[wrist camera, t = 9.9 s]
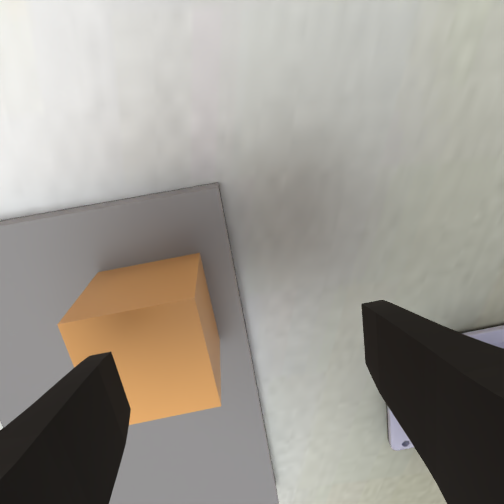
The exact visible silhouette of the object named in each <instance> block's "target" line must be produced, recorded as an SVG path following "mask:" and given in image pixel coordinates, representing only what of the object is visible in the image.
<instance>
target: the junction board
mask: <svg viewBox="0 0 504 504" xmlns="http://www.w3.org/2000/svg"><path fill="white" fill-rule="evenodd" d="M196 253H200V256H201V261H202V265H203V269H204V274H205V278H206V282H207V286H208V291H209V295H210V299H211V304H212V308H213V312H214V317H215V321H216V325H217V330H218V334H219V338H220V370H221V406H220V407H215V408H210V409H205V410H200V411H196V412H191V413H186V414H181V415H176V416H171V417H166V418H162V419H157V420H152V421H147V422H142V423H137V424H132V425H129V427H128V434H127V440H126V445H125V449H124V453H123V456H122V460H121V463H120V467H119V471H118V474H117V478H116V481H115V484H114V488H113V491H112V495H111V498H110V502H109V504H279V501H278V495H277V489H276V484H275V478H274V473H273V468H272V463H271V457H270V452H269V447H268V442H267V436H266V431H265V426H264V421H263V416H262V410H261V405H260V400H259V395H258V389H257V384H256V379H255V374H254V368H253V363H252V358H251V353H250V348H249V342H248V337H247V332H246V327H245V321H244V316H243V311H242V306H241V300H240V295H239V290H238V285H237V280H236V274H235V269H234V264H233V259H232V253H231V248H230V243H229V238H228V232H227V227H226V222H225V217H224V211H223V206H222V201H221V196H220V191H219V185H218V183H212V184H207V185H201V186H195V187H190V188H184V189H178V190H173V191H167V192H161V193H156V194H150V195H144V196H139V197H133V198H128V199H122V200H116V201H111V202H105V203H99V204H94V205H88V206H82V207H77V208H71V209H65V210H60V211H54V212H48V213H43V214H37V215H31V216H26V217H20V218H14V219H9V220H3V221H0V422H1V424H2V426H3V428H4V427H5V426H6V425H8V424H9V423H10V422H11V421H13V420H14V419H15V418H16V417H17V416H19V415H20V414H21V413H22V412H24V411H25V410H26V409H27V408H28V407H30V406H31V405H32V404H33V403H34V402H35V401H37V400H38V399H39V398H40V397H41V396H42V395H43V394H45V393H46V392H47V391H48V390H49V389H50V388H51V387H53V386H54V385H55V384H56V383H57V382H58V381H59V380H61V379H62V378H63V377H64V376H65V375H66V374H67V373H69V372H70V371H71V370H72V369H73V368H74V366H73V363H72V361H71V358H70V356H69V353H68V350H67V348H66V345H65V343H64V340H63V338H62V335H61V333H60V330H59V328H58V325H57V324H58V323H59V322H60V320H61V319H62V318H63V317H64V315H65V314H66V313H67V311H68V310H69V309H70V308H71V306H72V305H73V304H74V302H75V301H76V300H77V299H78V297H79V296H80V295H81V293H82V292H83V291H84V289H85V288H86V287H87V286H88V284H89V283H90V282H91V280H92V279H93V278H94V277H95V275H96V274H97V273H98V272H102V271H107V270H112V269H117V268H123V267H128V266H133V265H138V264H143V263H149V262H154V261H159V260H164V259H170V258H175V257H180V256H185V255H190V254H196Z"/></svg>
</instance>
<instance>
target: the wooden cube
mask: <svg viewBox="0 0 504 504" xmlns="http://www.w3.org/2000/svg"><path fill="white" fill-rule="evenodd" d="M57 325H58V328H59V330H60V333H61V335H62V338H63V340H64V343H65V345H66V348H67V350H68V353H69V356H70V358H71V361H72V363H73V366H74V367H76V366H77V365H78V364H79V363H80V362H82V361H83V360H84V359H86V358H87V357H89V356H91V355H96V354H101V353H106V352H112V355H113V358H114V361H115V364H116V367H117V370H118V373H119V376H120V379H121V382H122V385H123V388H124V391H125V394H126V396H127V399H128V402H129V405H130V408H131V412H130V420H129V425H132V424H137V423H142V422H147V421H152V420H157V419H162V418H166V417H171V416H176V415H181V414H186V413H191V412H196V411H200V410H205V409H210V408H215V407H220V406H221V370H220V338H219V334H218V330H217V325H216V321H215V317H214V312H213V308H212V304H211V299H210V295H209V291H208V286H207V282H206V278H205V274H204V269H203V265H202V261H201V256H200V253H196V254H190V255H185V256H180V257H175V258H170V259H164V260H159V261H154V262H149V263H143V264H138V265H133V266H128V267H123V268H117V269H112V270H107V271H102V272H98V273H97V274H96V275H95V277H94V278H93V279H92V280H91V282H90V283H89V284H88V286H87V287H86V288H85V289H84V291H83V292H82V293H81V295H80V296H79V297H78V299H77V300H76V301H75V302H74V304H73V305H72V306H71V308H70V309H69V310H68V311H67V313H66V314H65V315H64V317H63V318H62V319H61V320H60V322H59V323H58V324H57Z"/></svg>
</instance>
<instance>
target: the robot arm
mask: <svg viewBox="0 0 504 504" xmlns="http://www.w3.org/2000/svg"><path fill="white" fill-rule="evenodd" d="M362 317H363V332H364V346H365V361H366V365H367V367H368V369H369V372H370V374H371V376H372V378H373V380H374V382H375V384H376V386H377V388H378V391H379V393H380V394H381V396H382V398H383V399H384V401H385V402H386V404H387V411H388V432H389V444H390V446H391V448H392V449H393V450H403V449H408V448H412V447H415V449H416V450H417V452H418V453H419V455H420V457H421V458H422V460H423V461H424V463H425V464H426V466H427V468H428V469H429V471H430V473H431V474H432V476H433V478H434V479H435V481H436V483H437V485H438V487H439V489H440V490H441V492H442V494H443V496H444V498H445V500H446V502H447V504H504V325H502V326H497V327H492V328H487V329H482V330H476V331H471V332H466V333H459V332H457V331H454V330H452V329H449V328H447V327H444V326H442V325H440V324H437V323H435V322H433V321H430V320H428V319H426V318H424V317H421V316H419V315H417V314H415V313H413V312H410V311H408V310H406V309H404V308H401V307H399V306H397V305H394V304H392V303H390V302H387V301H384V300H379V301H374V302H369V303H363V304H362ZM130 412H131V408H130V405H129V402H128V399H127V396H126V394H125V391H124V388H123V385H122V382H121V379H120V376H119V373H118V370H117V367H116V364H115V361H114V358H113V355H112V352H106V353H101V354H96V355H91V356H89V357H87V358H86V359H84V360H83V361H82V362H80V363H79V364H78V365H77V366H76V367H74V368H73V369H72V370H71V371H70V372H69V373H67V374H66V375H65V376H64V377H63V378H62V379H61V380H59V381H58V382H57V383H56V384H55V385H54V386H53V387H51V388H50V389H49V390H48V391H47V392H46V393H45V394H43V395H42V396H41V397H40V398H39V399H38V400H37V401H35V402H34V403H33V404H32V405H31V406H30V407H28V408H27V409H26V410H25V411H24V412H22V413H21V414H20V415H19V416H17V417H16V418H15V419H14V420H13V421H11V422H10V423H9V424H8V425H6V426H5V427H4V428H3V429H2V430H0V504H109V502H110V498H111V495H112V491H113V488H114V484H115V481H116V478H117V474H118V471H119V467H120V463H121V460H122V456H123V453H124V449H125V445H126V440H127V434H128V427H129V420H130Z"/></svg>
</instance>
